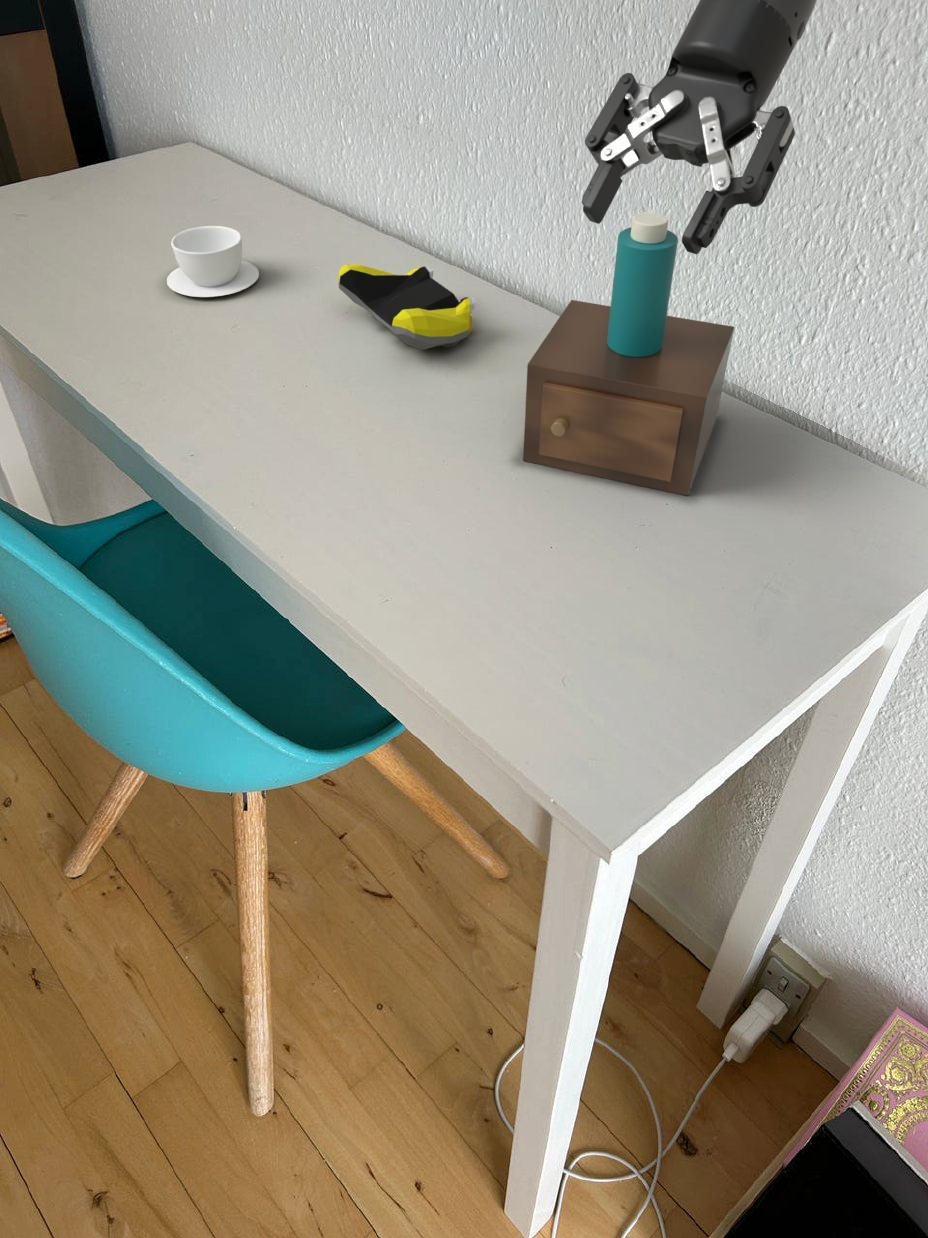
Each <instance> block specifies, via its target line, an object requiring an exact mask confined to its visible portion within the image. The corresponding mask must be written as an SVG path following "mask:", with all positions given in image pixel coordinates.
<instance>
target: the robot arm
mask: <svg viewBox="0 0 928 1238" xmlns="http://www.w3.org/2000/svg"><path fill="white" fill-rule="evenodd" d="M817 1H818V0H699V1H698V3H697V5H696V7H695V9H694V11H693V13H692V15H691V16H690V18H689V21H688V23H687V24H686V27H685V28H684V30H683V32H682V34H681V36H680V38H679V40H678V42H677V44H676V46H675V48H674V50H673V51H672V54H671V56H670V61H669V64H668V68H667V71H666V73H665V75H664V76H663V77H662V79H660V80H659V82H658V83H656V84H655V85H653V86H651V85H650V86H649V85H646V84H643V83H641V82H640V83H639V82H638V81H637V80H636V78H635V76H634V74H633V73H632V72H626V73H624V74H622V75H621V76H620V78H619V79H618V81H617V83H615V86H614V88H613V89H612V91H611V93H610V95H608V98H607V99H606V102H605V104H604V105H603V107H602V109H601V110H600V112H599V114H598V116H597V117H596V119H595V121H594V123H593V124H592V126H591V128H590V129H589V130H588V131H589V132H588V133H587V135H586V137H585V139H584V144H585V146H586V149H588V151H589V152H590V154H591V156H592V157H593V159H594V160H595V162H596V164H597V167H596V169H595V171H594V172H593V175H592V177H591V178H590V180H589V182H588V184H587V186H586V189H585V190H584V193H583V194H582V196H581V197H582V198H581V204H582V205H583V206H582V211H583V213H584V215H585V216H586V218H587V219H588V221H589V222H591V223H595V224H598V225H599V224H601V223H602V222H603V220H604V218H605V216H606V214H607V213H608V210H609V209H610V207H611V204H612V202H613V200H614V199H615V197H616V195H617V193H618V191H619V189H620V187H621V185H622V183H623V179H622V177H624V176H625V175H626V174H628V173H630V172H631V171H633V170H634V169H635V168H637V167H638V166H640V165H649V164H651V163H652V162H653V161H655V160H657V159H658V158H659V157H661V156H662V155H663V157H664V158H665V159H668V160H672V161H685V162H687V163H688V164H690V165H692V166H695V167H699V168H702V167H703V165H706V164H708V165H709V170H710V171H709V172H710V177H711V178H710V179H711V183H712V184H711V185H712V188H711V191H710V190H705V191H704V193H703V195H702V197H701V199H700V201H699V203H698V205H697V207H696V209H695V210H694V212H693V214H692V216H691V218H690V220H689V222H688V224H687V226H686V228H685V229H684V232H683V234H682V237H681V243H682V245H683V247H684V248H685V250H686V252H687V253H690V254H693V255H698V254H699V253H700V252H701V251H702V249H707V248H708V247H709V246H710V245H711V244H712V243H713V241H714V239H715V237H716V235H717V234H718V232H719V230H720V228H721V226H722V224H723V222H724V221H725V219H726V216H727V215H728V213H729V211H730V210H731V209H732V208H734V207H736V206H737V205H747V204H748V206H750V207H751V208H757V207H760V206H762V204H763V203H764V202H765V200H766V198H767V196H768V194H769V191H770V189H771V187H772V185H773V183H774V181H775V178H776V176H777V175H778V172H779V170H780V168H781V166H782V163H783V162H784V159H785V157H786V155H787V154H788V151H789V149H790V147H791V145H792V142H793V140H794V137H795V135H796V130H795V127H794V123H793V119H792V116H791V112H790V110H789V108H788V107H787V106H786V105H785V106H784V105H780V106H777V107H775V108H774V109H773V110H772V111H765V110H761V108H762V107H763V106H764V105H765V103H766V102H767V101H768V98H769V97H770V95H771V93H772V91H773V90H774V88H775V85H776V84H777V81H778V80H779V78H780V75H781V74H782V72H783V70H784V68H785V66H786V65H787V63H788V60H789V59H790V58H791V57H790V56H791V55H792V53H793V51H794V50H795V47H796V45H797V43H798V42H799V41H800V40H801V38H802V37H803V35H804V33H805V30H806V26H807V25H808V22H809V20H810V19H811V16H812V15H813V11H814V9H815V6H816V4H817ZM646 108H648V111H646V112H645V113H644V114H642V111H643V110H644V109H646ZM634 119H635V120H634ZM649 133H651V136H652V140H650V141H648V142H645V141H644V140H645V137H646V136H647V135H648V134H649ZM754 133H755V138H756V141H757V143H756V145H755V147H754V150H753V151H752V154H751V156H750V159H749V161H748V163H747V165H746V167H745V169H744V171H743V173H742V176H736V173H735V172H736V171H735V165H734V160H733V154H732V149H733V148H735V146H737V145H739V144H740V143H742V142H743V141H744V140H746V139H747V138H749V137H750V136H752V135H753V134H754Z"/></svg>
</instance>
